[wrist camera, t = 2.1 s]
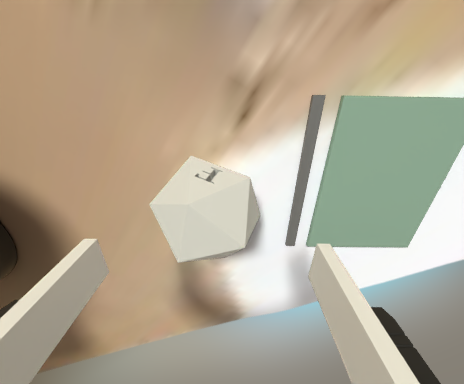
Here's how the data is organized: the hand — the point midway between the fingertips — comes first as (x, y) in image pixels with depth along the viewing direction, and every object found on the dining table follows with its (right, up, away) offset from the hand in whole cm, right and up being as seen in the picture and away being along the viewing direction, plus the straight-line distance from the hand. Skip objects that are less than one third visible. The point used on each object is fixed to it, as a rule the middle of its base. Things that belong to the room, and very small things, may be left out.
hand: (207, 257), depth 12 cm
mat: (+17, +5, +8) cm, 19 cm away
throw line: (+9, +5, +8) cm, 13 cm away
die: (0, +4, +8) cm, 9 cm away
